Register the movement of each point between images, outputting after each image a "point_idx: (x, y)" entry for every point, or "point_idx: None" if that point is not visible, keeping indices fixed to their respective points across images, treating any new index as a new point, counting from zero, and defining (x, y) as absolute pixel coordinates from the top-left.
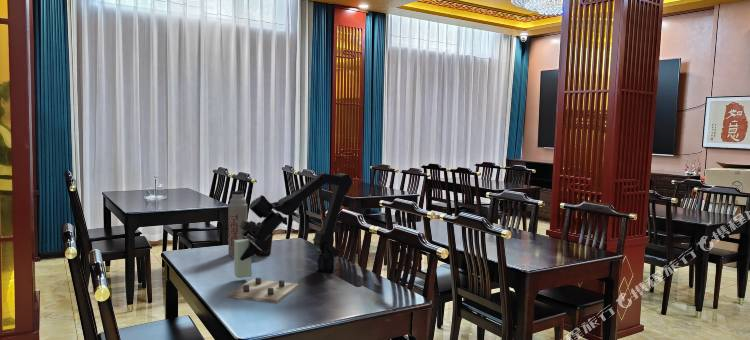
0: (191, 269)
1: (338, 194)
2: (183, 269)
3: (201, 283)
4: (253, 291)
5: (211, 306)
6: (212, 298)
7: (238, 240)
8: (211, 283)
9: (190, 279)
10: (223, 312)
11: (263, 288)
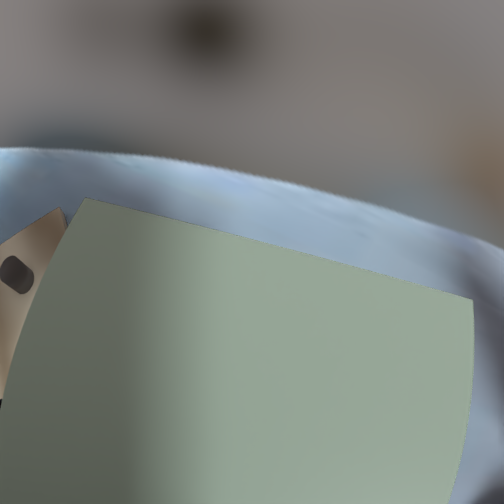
0: (490, 275)
1: None
2: (493, 253)
3: (310, 218)
4: (5, 303)
5: (54, 149)
6: (100, 171)
7: (400, 398)
8: None
9: (385, 213)
10: (7, 159)
11: (2, 363)
